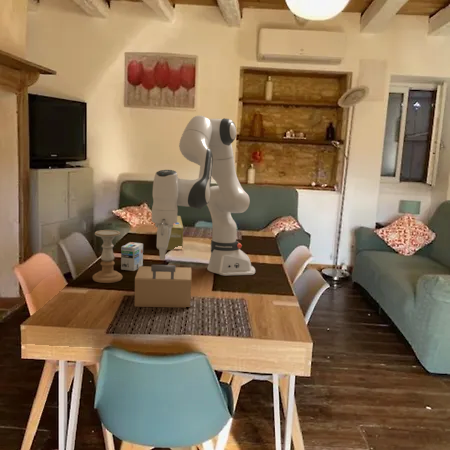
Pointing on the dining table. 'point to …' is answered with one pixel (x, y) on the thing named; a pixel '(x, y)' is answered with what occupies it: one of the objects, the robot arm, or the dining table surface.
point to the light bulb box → (131, 256)
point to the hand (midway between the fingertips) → (163, 255)
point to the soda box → (176, 235)
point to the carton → (162, 293)
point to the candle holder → (107, 258)
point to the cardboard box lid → (163, 273)
